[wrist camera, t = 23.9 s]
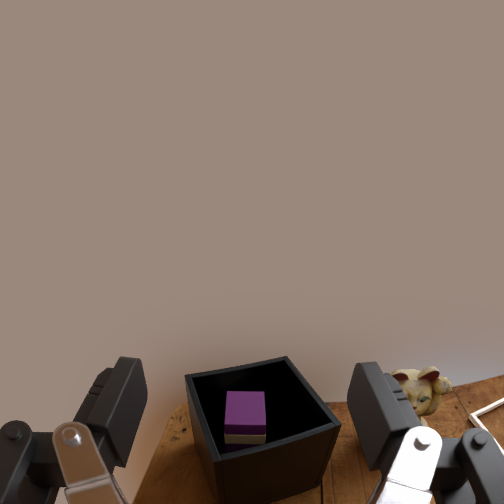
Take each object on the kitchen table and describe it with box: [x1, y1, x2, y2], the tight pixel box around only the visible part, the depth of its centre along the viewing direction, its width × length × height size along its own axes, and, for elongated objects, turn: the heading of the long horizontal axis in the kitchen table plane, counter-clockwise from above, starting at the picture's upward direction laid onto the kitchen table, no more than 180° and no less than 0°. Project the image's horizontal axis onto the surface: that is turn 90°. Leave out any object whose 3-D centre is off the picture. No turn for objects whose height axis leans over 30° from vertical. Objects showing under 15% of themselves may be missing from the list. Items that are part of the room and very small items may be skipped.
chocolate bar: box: [224, 391, 266, 453], centre depth 31 cm, size 5×4×11 cm
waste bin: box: [185, 356, 342, 504], centre depth 31 cm, size 12×12×13 cm
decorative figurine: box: [390, 366, 452, 427], centre depth 33 cm, size 10×8×15 cm
